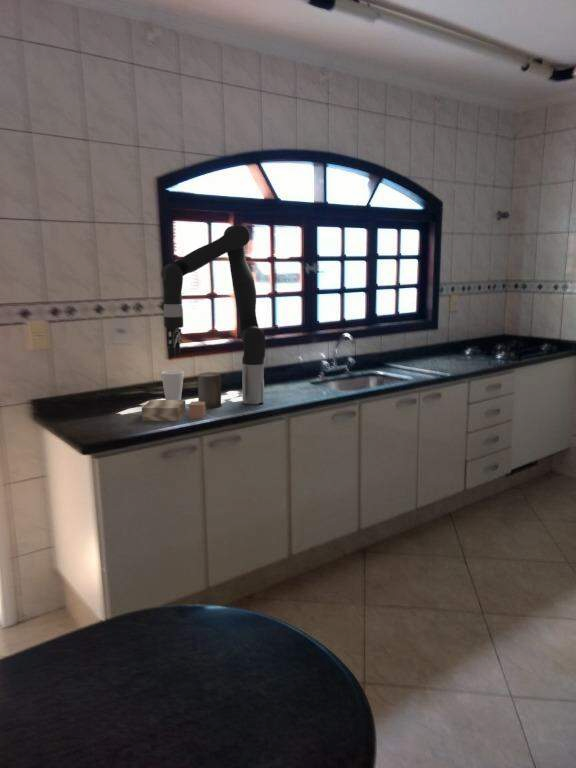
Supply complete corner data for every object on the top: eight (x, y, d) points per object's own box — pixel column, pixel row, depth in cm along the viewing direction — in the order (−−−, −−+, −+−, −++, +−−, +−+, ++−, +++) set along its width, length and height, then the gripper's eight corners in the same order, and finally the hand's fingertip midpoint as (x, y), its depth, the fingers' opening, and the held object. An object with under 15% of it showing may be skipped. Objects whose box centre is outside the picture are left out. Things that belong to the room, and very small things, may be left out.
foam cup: (162, 404, 245) (161, 374, 243) (161, 399, 254) (160, 370, 252) (185, 403, 248) (184, 373, 245) (183, 398, 257) (182, 370, 254)
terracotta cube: (205, 415, 228) (205, 401, 227) (203, 418, 222) (203, 404, 221) (191, 415, 228) (191, 401, 227) (189, 418, 223) (188, 404, 221)
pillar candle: (225, 404, 246) (224, 369, 244) (214, 409, 238) (213, 373, 235) (205, 402, 250) (204, 368, 247) (194, 407, 241) (192, 372, 238)
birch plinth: (185, 412, 232) (185, 400, 231) (178, 420, 218) (178, 408, 217) (151, 411, 232) (150, 399, 231) (142, 420, 219) (141, 407, 218)
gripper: (178, 316, 222) (180, 358, 225) (186, 314, 236) (187, 353, 239) (159, 316, 222) (161, 358, 226) (168, 314, 236) (170, 353, 239)
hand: (175, 355), depth 232 cm, fingers open, 8 cm apart
